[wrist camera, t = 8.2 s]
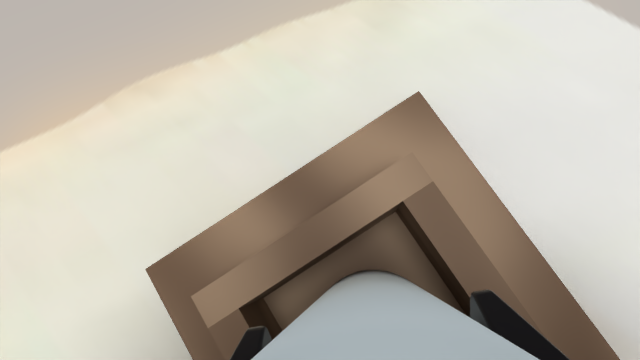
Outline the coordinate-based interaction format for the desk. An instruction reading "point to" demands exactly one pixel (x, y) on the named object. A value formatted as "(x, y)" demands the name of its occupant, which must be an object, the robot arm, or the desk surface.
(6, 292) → the desk surface
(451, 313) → the peg
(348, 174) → the cradle jig
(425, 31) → the desk surface
